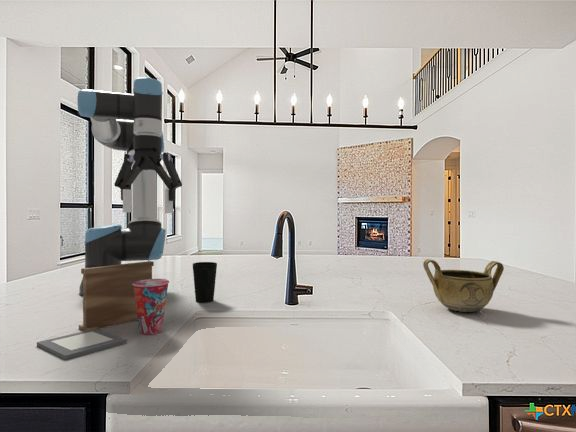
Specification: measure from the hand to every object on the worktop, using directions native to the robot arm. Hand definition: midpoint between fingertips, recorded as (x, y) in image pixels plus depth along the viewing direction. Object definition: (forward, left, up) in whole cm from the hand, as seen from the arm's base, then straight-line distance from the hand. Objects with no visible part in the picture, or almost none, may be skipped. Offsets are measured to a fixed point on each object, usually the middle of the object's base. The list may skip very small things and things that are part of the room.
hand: (147, 212), depth 115 cm
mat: (+12, -24, -28) cm, 39 cm away
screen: (+3, -10, -28) cm, 30 cm away
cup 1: (+15, -9, -28) cm, 33 cm away
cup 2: (0, +21, -28) cm, 35 cm away
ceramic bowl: (+68, +61, -28) cm, 96 cm away
